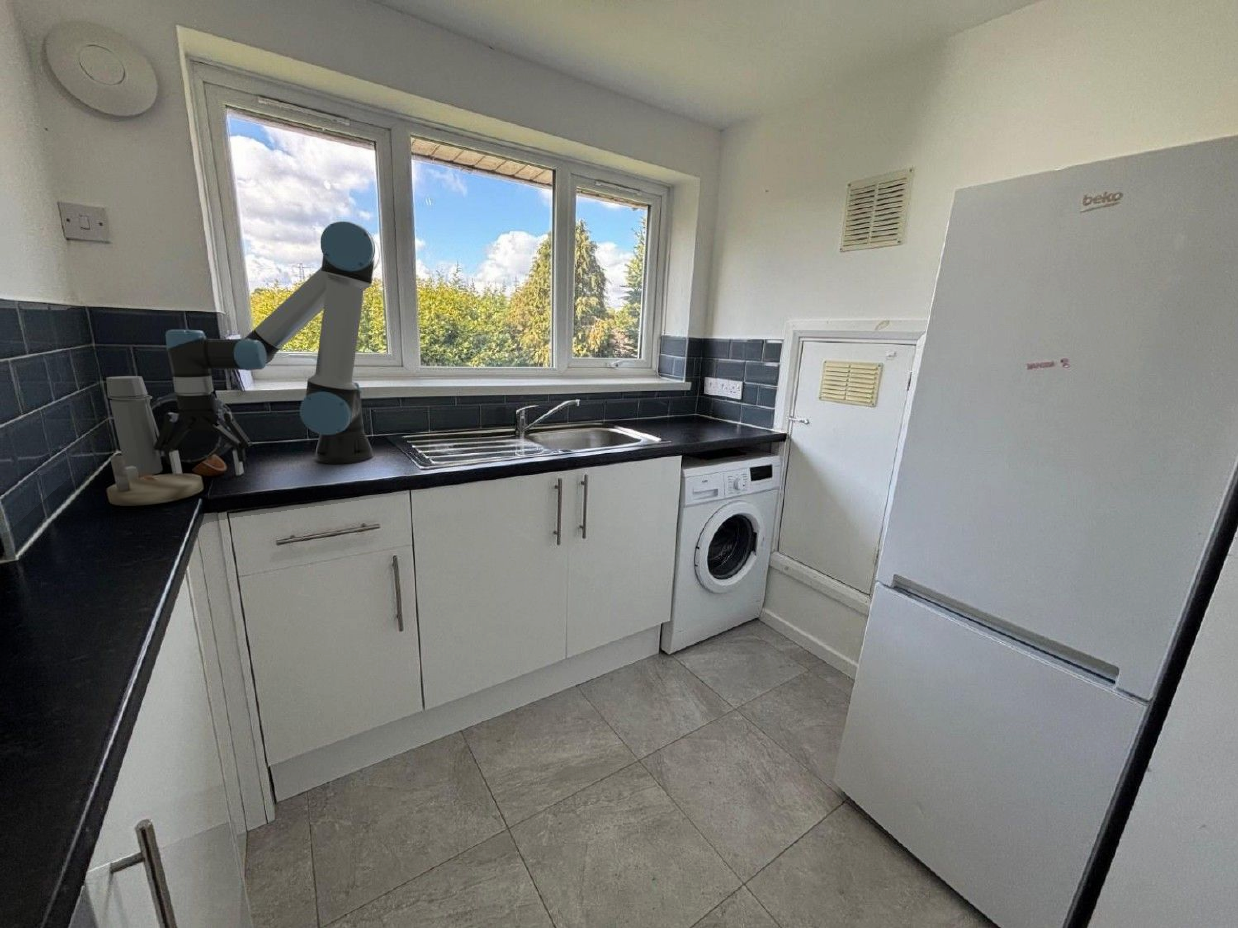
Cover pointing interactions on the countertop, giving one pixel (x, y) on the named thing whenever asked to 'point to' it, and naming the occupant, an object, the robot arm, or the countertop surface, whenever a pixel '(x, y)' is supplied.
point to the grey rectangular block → (132, 472)
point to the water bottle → (134, 423)
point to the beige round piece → (150, 486)
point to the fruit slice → (211, 466)
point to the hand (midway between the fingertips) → (209, 475)
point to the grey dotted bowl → (191, 432)
